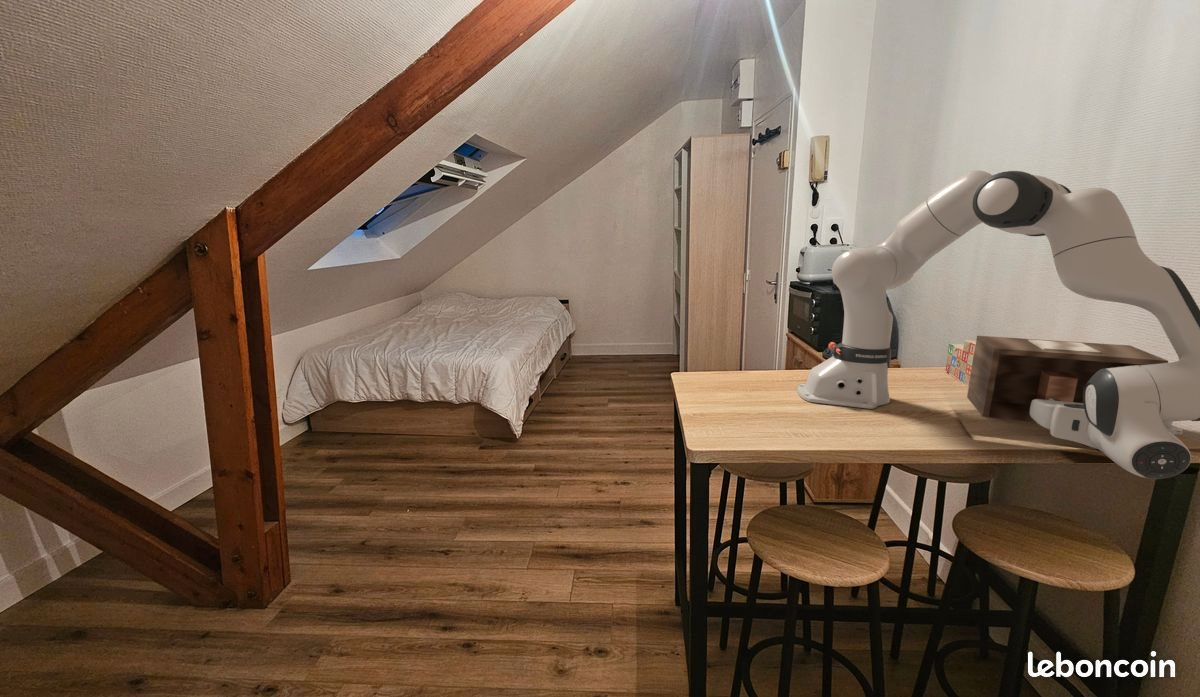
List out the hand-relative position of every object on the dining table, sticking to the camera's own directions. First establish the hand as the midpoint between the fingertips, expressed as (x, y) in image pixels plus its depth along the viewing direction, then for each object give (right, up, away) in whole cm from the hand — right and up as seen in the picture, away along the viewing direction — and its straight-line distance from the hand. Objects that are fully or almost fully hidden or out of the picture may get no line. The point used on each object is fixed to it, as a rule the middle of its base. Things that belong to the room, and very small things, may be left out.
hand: (1080, 404), depth 109 cm
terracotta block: (+5, -4, +12) cm, 14 cm away
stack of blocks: (+7, +2, +42) cm, 43 cm away
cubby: (+5, -5, +13) cm, 15 cm away
